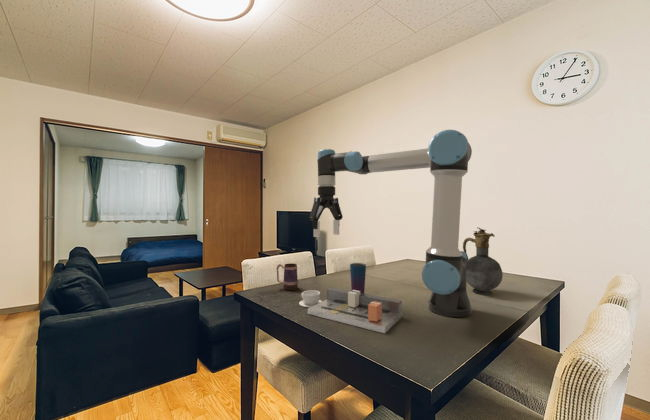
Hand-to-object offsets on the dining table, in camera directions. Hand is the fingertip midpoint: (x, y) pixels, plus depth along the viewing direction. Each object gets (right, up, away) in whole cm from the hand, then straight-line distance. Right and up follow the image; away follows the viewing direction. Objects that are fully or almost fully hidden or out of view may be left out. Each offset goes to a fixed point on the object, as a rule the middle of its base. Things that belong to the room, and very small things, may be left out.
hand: (326, 235), depth 124 cm
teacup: (-7, -28, -6) cm, 29 cm away
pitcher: (+71, -27, +10) cm, 77 cm away
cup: (+13, -27, -1) cm, 30 cm away
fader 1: (+10, -25, -15) cm, 31 cm away
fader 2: (+16, -25, -28) cm, 41 cm away
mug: (-19, -27, +16) cm, 37 cm away
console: (+10, -27, -19) cm, 35 cm away
